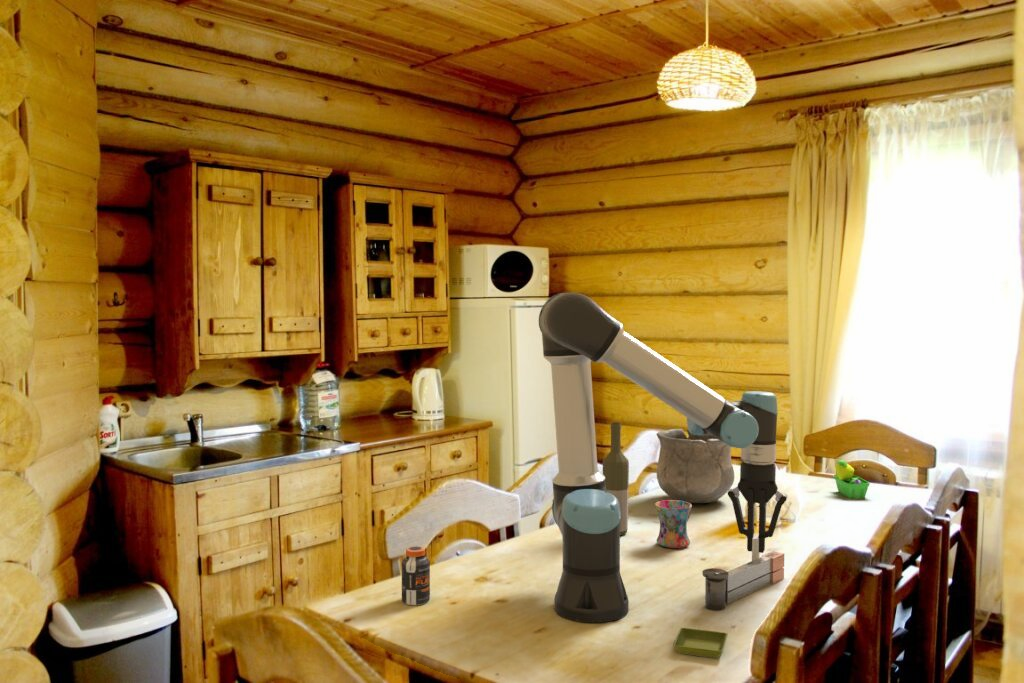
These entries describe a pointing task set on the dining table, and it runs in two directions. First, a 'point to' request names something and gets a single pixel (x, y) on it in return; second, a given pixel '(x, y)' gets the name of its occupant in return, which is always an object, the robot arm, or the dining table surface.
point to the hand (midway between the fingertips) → (755, 565)
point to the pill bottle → (415, 576)
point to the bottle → (617, 475)
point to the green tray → (700, 642)
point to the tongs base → (720, 597)
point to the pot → (694, 466)
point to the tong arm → (754, 569)
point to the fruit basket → (849, 481)
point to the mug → (673, 523)
